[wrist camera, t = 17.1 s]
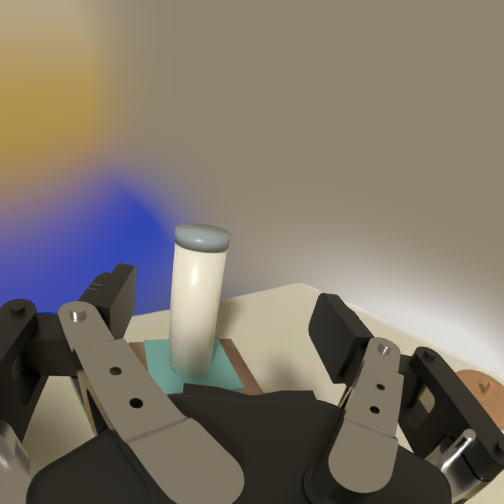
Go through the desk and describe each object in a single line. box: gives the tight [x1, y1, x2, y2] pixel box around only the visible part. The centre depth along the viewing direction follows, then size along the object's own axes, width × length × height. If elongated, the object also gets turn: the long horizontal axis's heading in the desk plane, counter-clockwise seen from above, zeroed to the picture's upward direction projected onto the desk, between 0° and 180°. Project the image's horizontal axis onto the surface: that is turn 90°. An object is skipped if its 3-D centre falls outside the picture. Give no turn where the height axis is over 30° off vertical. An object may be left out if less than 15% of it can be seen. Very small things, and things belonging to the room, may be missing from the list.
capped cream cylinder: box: [168, 224, 230, 378], centre depth 30 cm, size 5×5×16 cm
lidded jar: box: [456, 370, 504, 432], centre depth 22 cm, size 11×11×9 cm
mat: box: [144, 337, 244, 395], centre depth 32 cm, size 10×10×1 cm
